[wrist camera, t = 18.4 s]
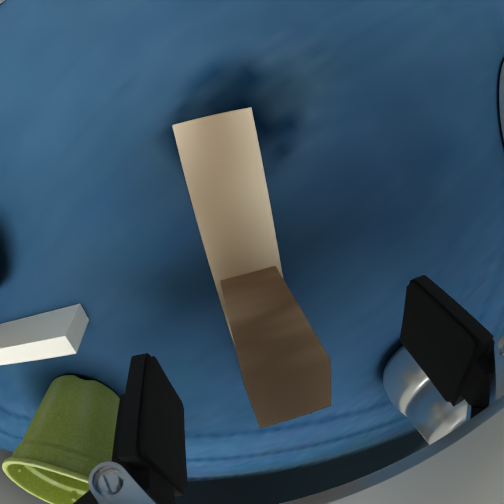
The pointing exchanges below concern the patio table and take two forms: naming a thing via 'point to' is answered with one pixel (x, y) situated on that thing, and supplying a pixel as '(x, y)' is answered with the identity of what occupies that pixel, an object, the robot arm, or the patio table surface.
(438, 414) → the plastic bottle
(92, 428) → the plant pot
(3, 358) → the bay
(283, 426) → the patio table surface
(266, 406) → the scraper
